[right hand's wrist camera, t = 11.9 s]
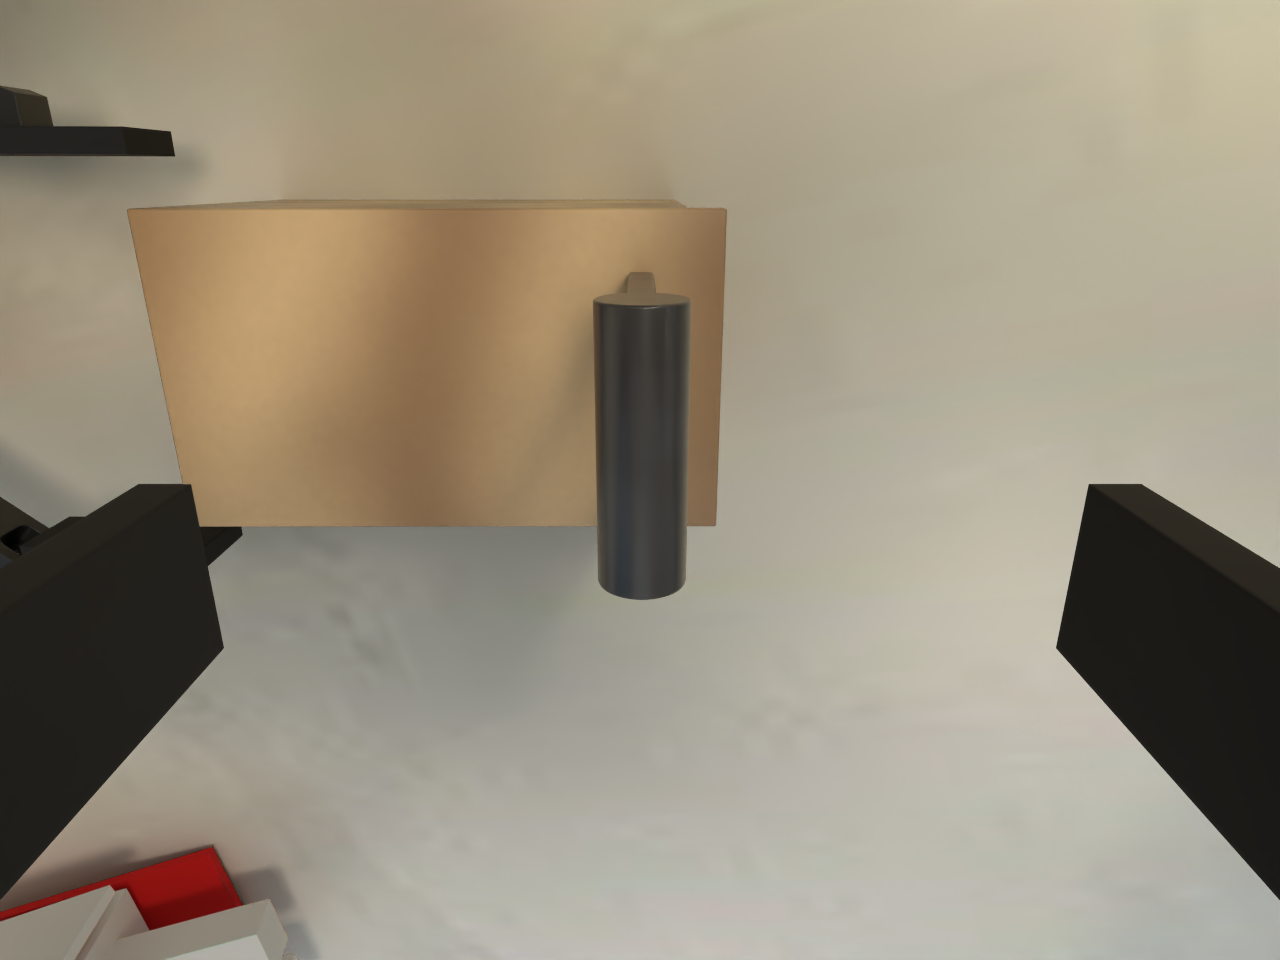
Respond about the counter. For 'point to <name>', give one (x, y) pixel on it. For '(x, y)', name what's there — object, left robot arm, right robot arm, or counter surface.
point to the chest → (445, 204)
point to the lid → (447, 369)
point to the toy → (148, 919)
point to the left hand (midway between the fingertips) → (191, 358)
